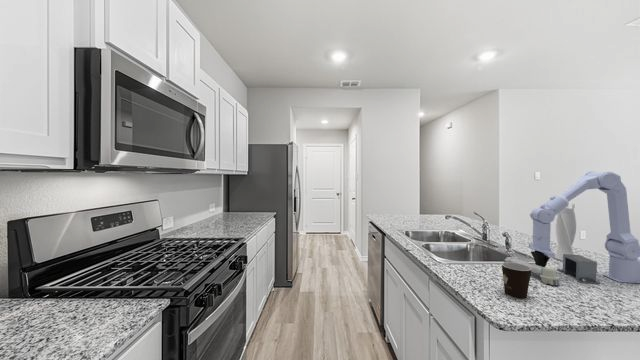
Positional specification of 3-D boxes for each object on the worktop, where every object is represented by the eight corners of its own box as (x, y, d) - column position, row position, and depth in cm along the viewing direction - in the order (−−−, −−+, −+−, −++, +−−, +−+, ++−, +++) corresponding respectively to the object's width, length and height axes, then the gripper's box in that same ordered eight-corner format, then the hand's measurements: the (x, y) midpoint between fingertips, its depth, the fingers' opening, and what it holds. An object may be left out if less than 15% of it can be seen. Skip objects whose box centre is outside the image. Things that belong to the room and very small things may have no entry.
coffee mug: (532, 302, 94) (532, 272, 94) (501, 296, 99) (501, 267, 98) (528, 289, 104) (529, 262, 104) (500, 284, 109) (501, 258, 108)
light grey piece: (512, 256, 132) (562, 266, 108) (514, 271, 132) (564, 285, 107) (502, 256, 132) (549, 267, 107) (503, 271, 131) (551, 285, 107)
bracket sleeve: (574, 271, 123) (574, 253, 123) (601, 284, 109) (602, 264, 109) (557, 270, 124) (557, 252, 124) (581, 283, 110) (582, 263, 110)
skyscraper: (581, 263, 134) (583, 203, 133) (564, 263, 134) (566, 203, 133) (566, 257, 142) (568, 201, 141) (549, 257, 142) (551, 201, 141)
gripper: (521, 233, 126) (520, 263, 127) (540, 241, 112) (539, 275, 112) (539, 233, 125) (538, 264, 126) (561, 241, 111) (560, 276, 111)
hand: (540, 269), depth 119 cm, fingers closed
